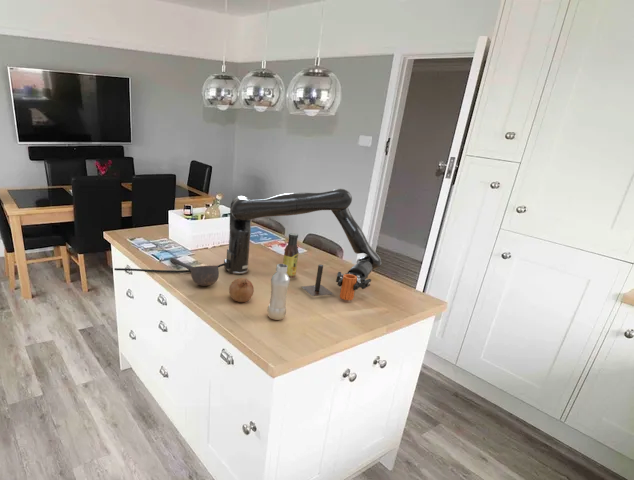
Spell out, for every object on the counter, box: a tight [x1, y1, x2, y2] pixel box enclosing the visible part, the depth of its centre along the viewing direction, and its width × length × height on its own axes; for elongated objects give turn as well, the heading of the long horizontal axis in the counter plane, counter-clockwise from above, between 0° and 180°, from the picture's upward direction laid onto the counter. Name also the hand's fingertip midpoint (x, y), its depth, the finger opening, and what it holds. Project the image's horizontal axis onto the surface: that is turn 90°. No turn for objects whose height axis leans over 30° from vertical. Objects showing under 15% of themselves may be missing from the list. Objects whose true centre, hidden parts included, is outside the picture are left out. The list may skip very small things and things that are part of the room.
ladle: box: [169, 257, 220, 287], centre depth 181 cm, size 12×38×10 cm, turn 35°
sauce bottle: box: [282, 232, 300, 279], centre depth 183 cm, size 7×6×20 cm
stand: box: [301, 264, 334, 297], centre depth 171 cm, size 10×10×12 cm
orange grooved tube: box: [339, 273, 357, 301], centre depth 163 cm, size 5×5×9 cm
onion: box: [228, 277, 255, 303], centre depth 159 cm, size 10×9×10 cm
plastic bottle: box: [266, 263, 291, 321], centre depth 145 cm, size 6×7×20 cm
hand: (347, 286), depth 160 cm, fingers closed on orange grooved tube, 5 cm apart
